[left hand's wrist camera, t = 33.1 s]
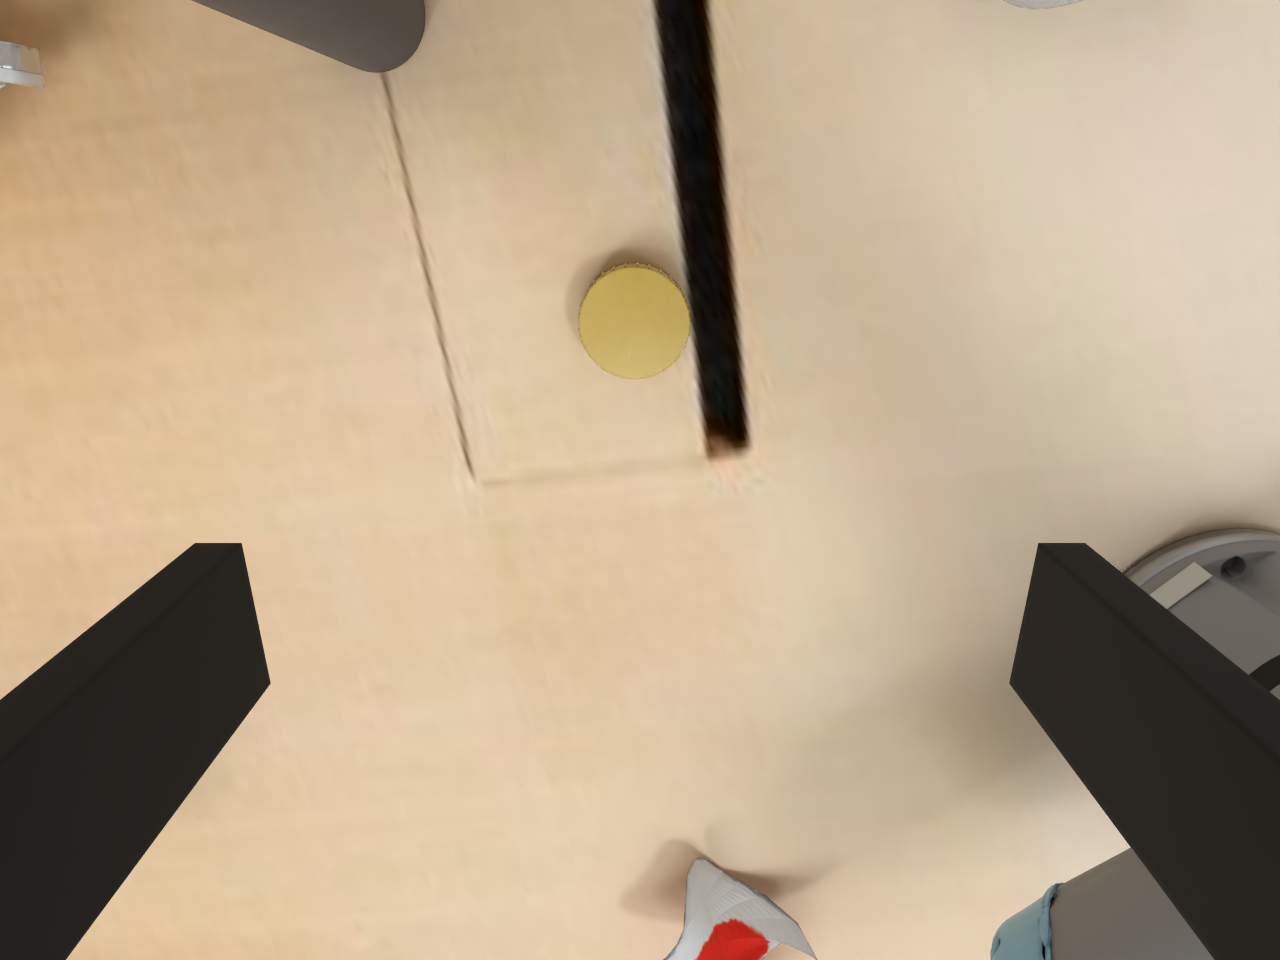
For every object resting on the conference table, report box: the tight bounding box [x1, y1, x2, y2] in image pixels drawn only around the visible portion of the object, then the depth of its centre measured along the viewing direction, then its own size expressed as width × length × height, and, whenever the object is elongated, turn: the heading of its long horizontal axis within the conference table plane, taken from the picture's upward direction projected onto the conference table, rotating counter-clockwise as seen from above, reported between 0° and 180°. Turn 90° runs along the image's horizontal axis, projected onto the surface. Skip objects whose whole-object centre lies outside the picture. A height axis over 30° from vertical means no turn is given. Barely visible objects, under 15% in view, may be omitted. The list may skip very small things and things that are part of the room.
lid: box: [578, 262, 691, 379], centre depth 39 cm, size 6×6×2 cm
